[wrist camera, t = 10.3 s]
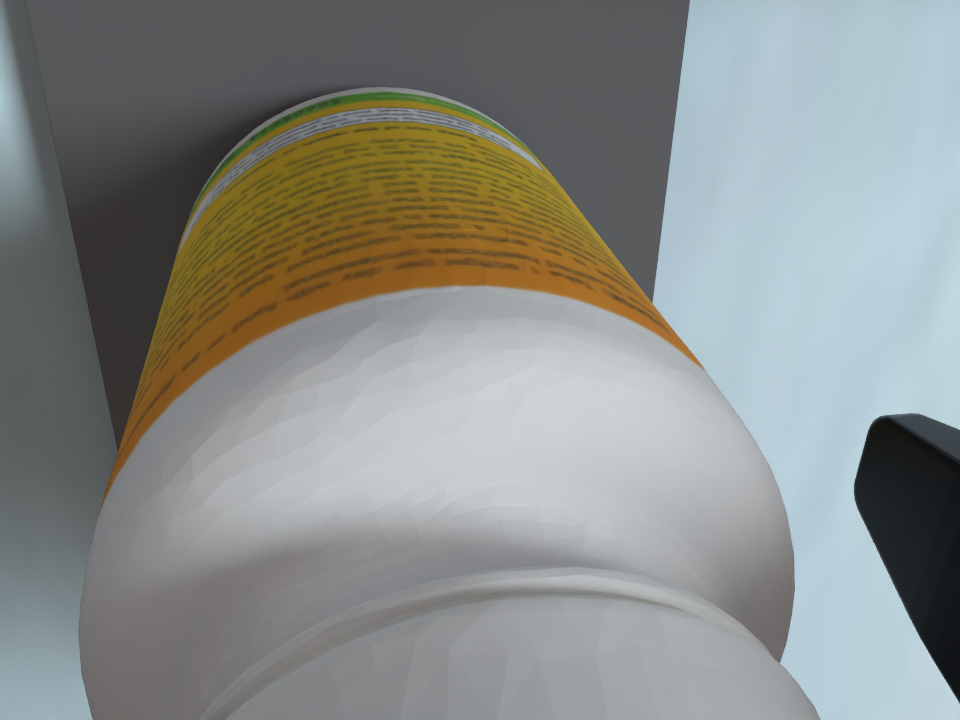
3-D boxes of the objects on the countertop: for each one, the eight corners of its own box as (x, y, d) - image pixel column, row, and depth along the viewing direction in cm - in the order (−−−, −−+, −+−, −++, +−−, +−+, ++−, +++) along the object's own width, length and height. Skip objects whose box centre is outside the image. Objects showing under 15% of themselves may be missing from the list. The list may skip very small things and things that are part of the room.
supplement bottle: (92, 225, 12) (-415, 1131, 3) (446, -8, 11) (887, 402, 3) (332, 494, 14) (378, 1379, 6) (630, 318, 14) (1137, 1029, 5)
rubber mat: (619, 460, 16) (630, 480, 15) (138, 497, 15) (132, 521, 14) (678, -41, 12) (694, -36, 12) (31, -45, 11) (16, -40, 10)
